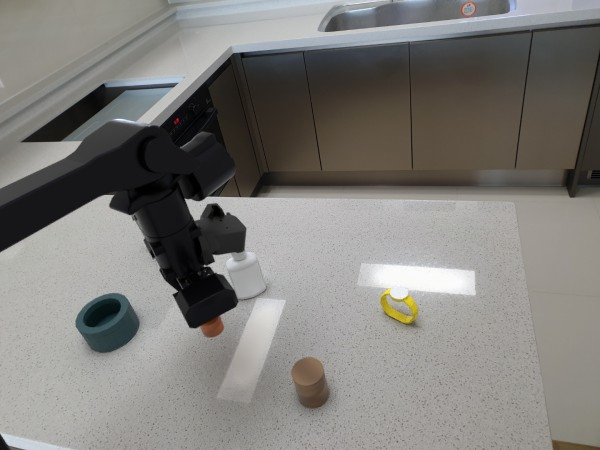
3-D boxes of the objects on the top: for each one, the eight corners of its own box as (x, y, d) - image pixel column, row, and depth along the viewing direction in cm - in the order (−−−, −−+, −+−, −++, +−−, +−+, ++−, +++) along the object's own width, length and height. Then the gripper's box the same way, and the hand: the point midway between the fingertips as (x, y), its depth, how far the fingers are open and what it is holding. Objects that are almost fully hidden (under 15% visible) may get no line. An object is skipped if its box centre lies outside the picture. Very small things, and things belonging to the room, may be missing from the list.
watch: (378, 315, 74) (375, 290, 70) (387, 304, 75) (385, 278, 72) (412, 331, 70) (411, 305, 67) (421, 319, 72) (420, 293, 68)
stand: (312, 414, 62) (306, 391, 59) (291, 394, 65) (284, 372, 62) (335, 392, 64) (330, 369, 61) (314, 374, 67) (308, 351, 64)
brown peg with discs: (209, 341, 63) (193, 304, 59) (198, 329, 65) (181, 293, 61) (228, 327, 65) (213, 290, 60) (216, 316, 67) (201, 279, 62)
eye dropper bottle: (263, 300, 81) (247, 249, 74) (233, 300, 82) (214, 250, 75) (268, 282, 84) (253, 232, 77) (239, 282, 86) (222, 233, 78)
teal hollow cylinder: (99, 361, 76) (86, 342, 73) (81, 333, 82) (68, 315, 79) (147, 328, 80) (136, 309, 77) (126, 304, 86) (115, 285, 83)
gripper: (263, 230, 49) (289, 325, 59) (202, 167, 63) (231, 252, 72) (165, 277, 46) (210, 370, 55) (123, 200, 60) (165, 285, 69)
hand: (205, 312), depth 63 cm, fingers closed on brown peg with discs, 2 cm apart
